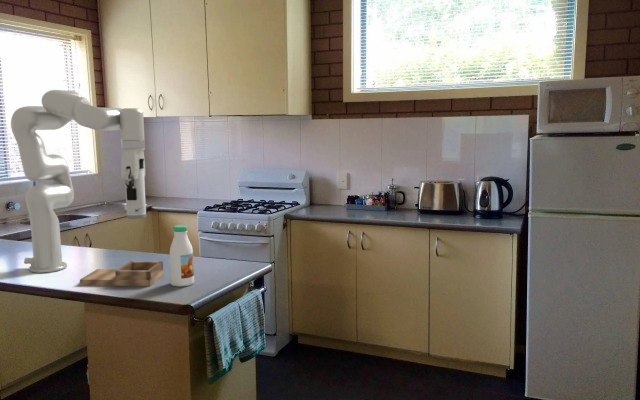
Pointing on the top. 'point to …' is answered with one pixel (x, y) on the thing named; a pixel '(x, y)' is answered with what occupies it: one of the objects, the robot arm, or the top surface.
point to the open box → (126, 275)
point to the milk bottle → (181, 258)
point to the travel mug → (138, 206)
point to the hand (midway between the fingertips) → (135, 198)
